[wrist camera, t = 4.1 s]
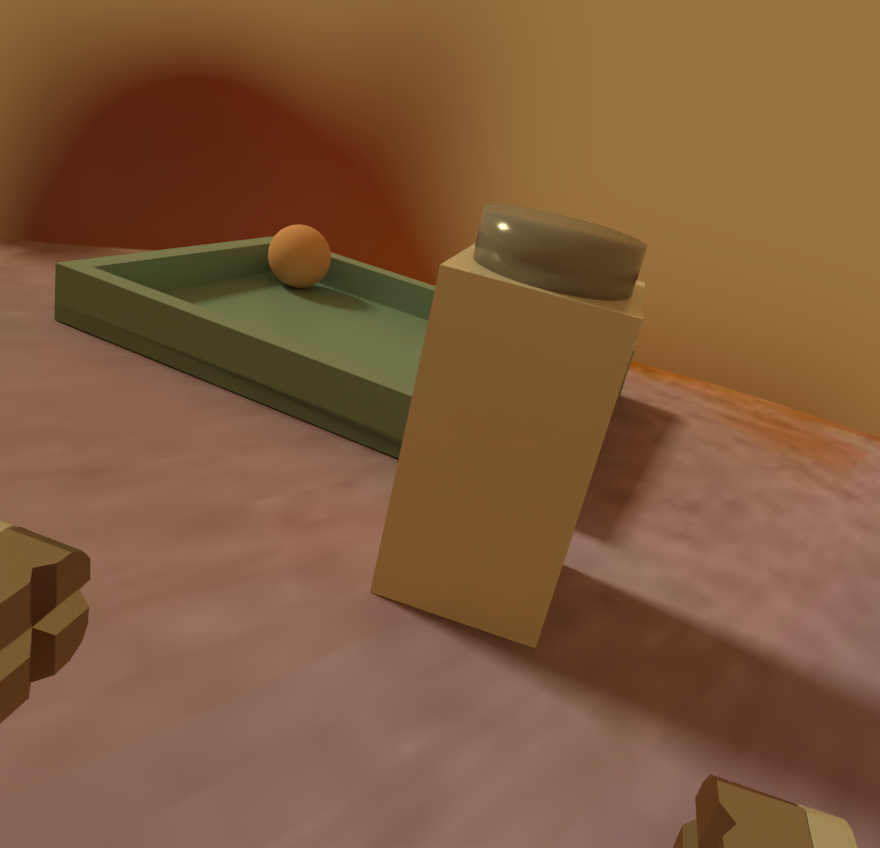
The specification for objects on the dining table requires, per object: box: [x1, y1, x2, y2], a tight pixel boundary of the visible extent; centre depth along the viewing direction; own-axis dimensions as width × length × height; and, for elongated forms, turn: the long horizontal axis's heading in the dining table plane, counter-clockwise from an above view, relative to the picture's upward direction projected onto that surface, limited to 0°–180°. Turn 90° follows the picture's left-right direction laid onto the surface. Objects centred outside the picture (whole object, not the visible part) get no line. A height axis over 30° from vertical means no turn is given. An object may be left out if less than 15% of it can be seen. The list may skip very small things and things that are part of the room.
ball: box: [268, 225, 331, 288], centre depth 43 cm, size 3×3×3 cm
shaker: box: [370, 204, 647, 649], centre depth 21 cm, size 5×5×10 cm
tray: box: [55, 236, 634, 459], centre depth 37 cm, size 22×16×2 cm
